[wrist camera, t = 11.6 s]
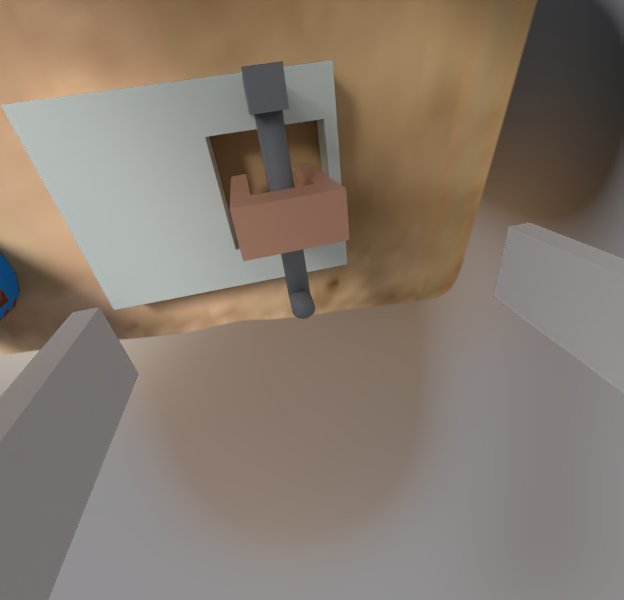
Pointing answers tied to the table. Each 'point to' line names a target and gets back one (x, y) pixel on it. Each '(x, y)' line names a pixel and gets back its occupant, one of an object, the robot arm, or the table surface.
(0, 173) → the table surface
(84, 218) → the slider lever panel
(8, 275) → the thermos
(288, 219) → the pink notched block
